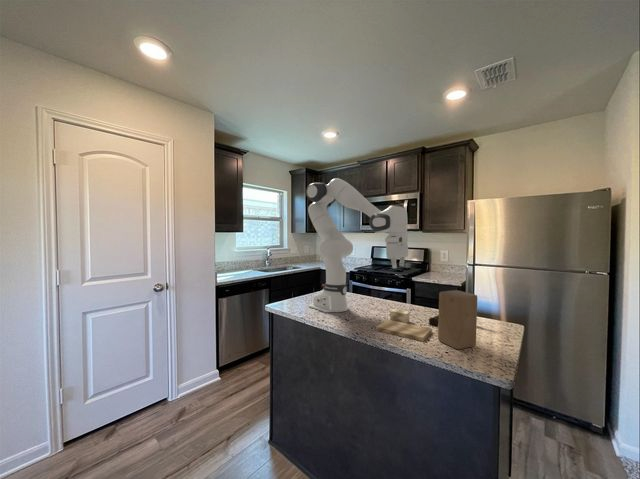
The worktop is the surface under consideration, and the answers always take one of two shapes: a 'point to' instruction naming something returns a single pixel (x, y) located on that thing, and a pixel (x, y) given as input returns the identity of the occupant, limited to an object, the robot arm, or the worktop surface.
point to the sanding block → (399, 315)
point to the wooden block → (457, 319)
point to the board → (404, 330)
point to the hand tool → (434, 320)
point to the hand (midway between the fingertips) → (398, 267)
